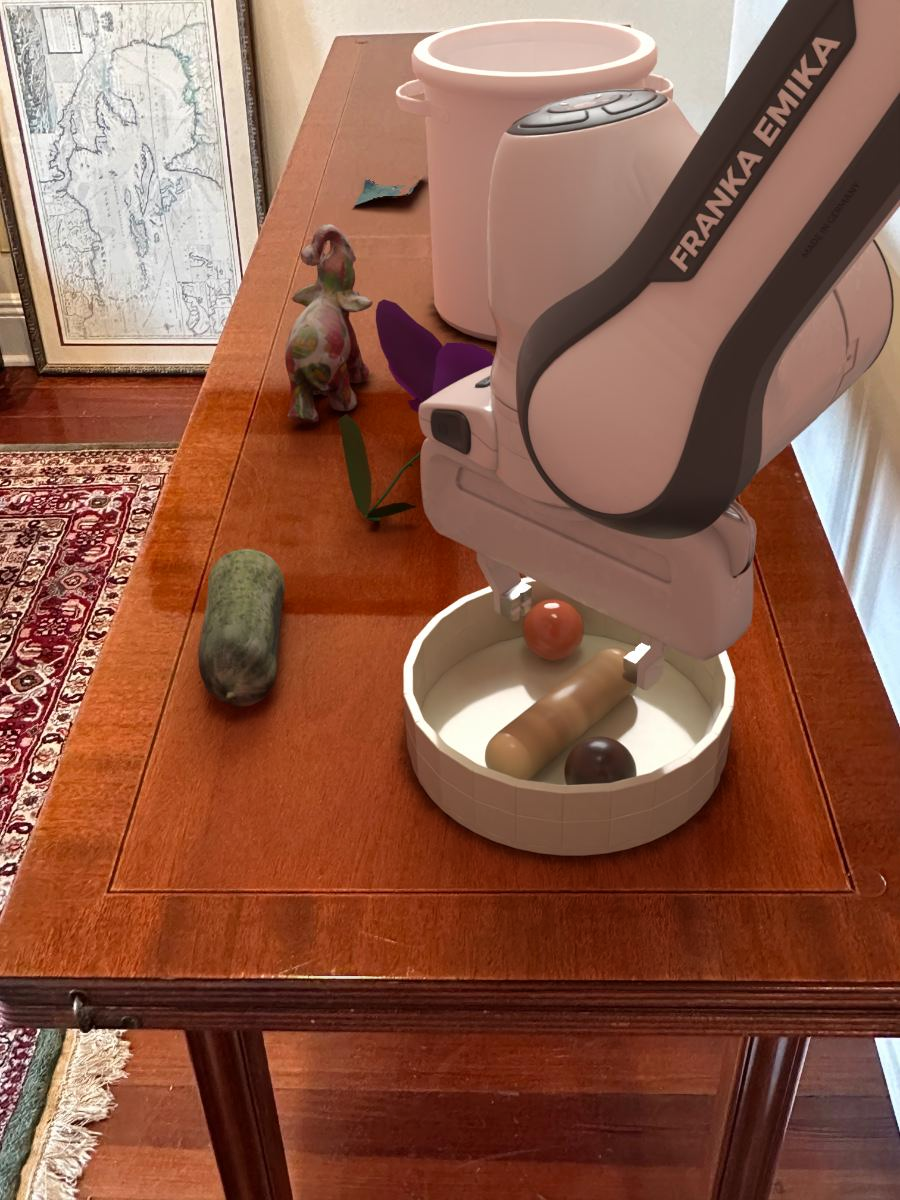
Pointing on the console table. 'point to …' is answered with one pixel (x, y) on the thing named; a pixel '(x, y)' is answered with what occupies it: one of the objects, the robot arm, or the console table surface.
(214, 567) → the vegetable
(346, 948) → the console table surface
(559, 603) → the bead terracotta
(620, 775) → the bead walnut
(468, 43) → the pot
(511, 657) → the bowl
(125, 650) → the console table surface
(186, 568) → the console table surface
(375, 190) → the terrain model
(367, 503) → the flower
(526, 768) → the stick
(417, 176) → the console table surface
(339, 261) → the figurine
